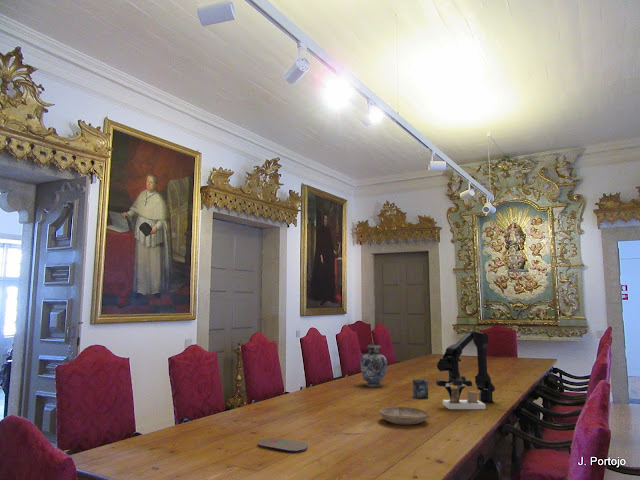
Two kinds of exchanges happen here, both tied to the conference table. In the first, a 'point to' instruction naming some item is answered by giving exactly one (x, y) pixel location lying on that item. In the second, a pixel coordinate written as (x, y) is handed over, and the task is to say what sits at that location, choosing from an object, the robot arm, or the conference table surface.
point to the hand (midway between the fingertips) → (454, 398)
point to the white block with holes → (466, 402)
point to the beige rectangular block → (454, 395)
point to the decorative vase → (373, 366)
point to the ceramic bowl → (404, 415)
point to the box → (420, 388)
